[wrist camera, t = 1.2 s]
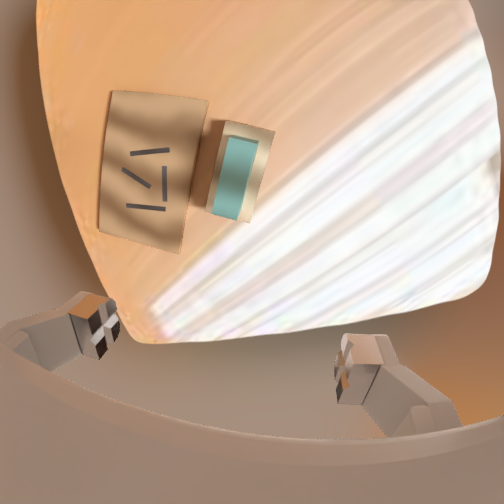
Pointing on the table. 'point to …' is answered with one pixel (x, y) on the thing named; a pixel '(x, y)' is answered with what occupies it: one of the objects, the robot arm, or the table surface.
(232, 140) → the block
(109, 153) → the wooden board
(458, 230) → the table surface
